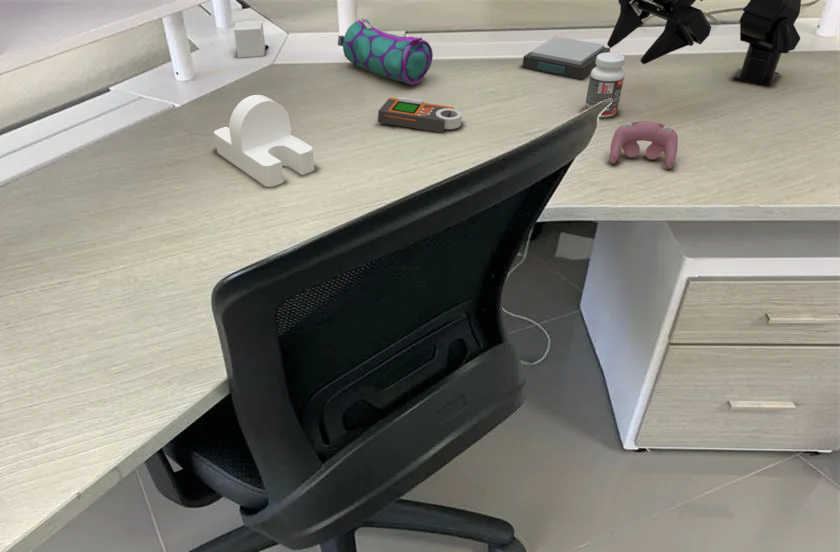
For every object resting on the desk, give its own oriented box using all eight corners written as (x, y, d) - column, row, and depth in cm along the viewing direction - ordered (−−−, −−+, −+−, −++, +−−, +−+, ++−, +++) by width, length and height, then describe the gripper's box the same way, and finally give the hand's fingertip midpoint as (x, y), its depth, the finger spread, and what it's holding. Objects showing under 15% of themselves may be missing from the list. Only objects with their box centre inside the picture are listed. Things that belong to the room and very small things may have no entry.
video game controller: (671, 169, 113) (680, 124, 112) (674, 169, 109) (684, 123, 107) (606, 163, 116) (615, 119, 114) (607, 163, 112) (616, 117, 110)
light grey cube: (265, 47, 165) (262, 20, 162) (263, 55, 161) (260, 28, 157) (240, 48, 166) (236, 22, 162) (237, 57, 161) (233, 30, 157)
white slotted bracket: (268, 188, 113) (259, 124, 106) (215, 151, 124) (204, 91, 117) (317, 169, 117) (311, 106, 110) (261, 135, 129) (253, 76, 122)
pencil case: (338, 67, 153) (336, 21, 146) (369, 56, 157) (368, 11, 150) (403, 93, 140) (403, 43, 133) (435, 80, 144) (437, 32, 137)
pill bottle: (618, 119, 125) (629, 63, 119) (584, 118, 126) (594, 62, 120) (615, 106, 129) (626, 51, 123) (583, 105, 131) (592, 50, 124)
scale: (551, 49, 154) (553, 34, 152) (608, 59, 147) (611, 44, 145) (521, 68, 146) (523, 52, 144) (580, 80, 140) (582, 64, 137)
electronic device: (457, 121, 123) (376, 108, 127) (455, 137, 125) (376, 123, 129) (466, 106, 127) (388, 94, 132) (465, 121, 129) (388, 109, 134)
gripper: (637, -68, 119) (571, 10, 124) (717, -46, 106) (638, 41, 110) (665, -24, 126) (600, 48, 131) (743, 2, 112) (668, 82, 117)
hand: (624, 54), depth 122 cm, fingers open, 9 cm apart
